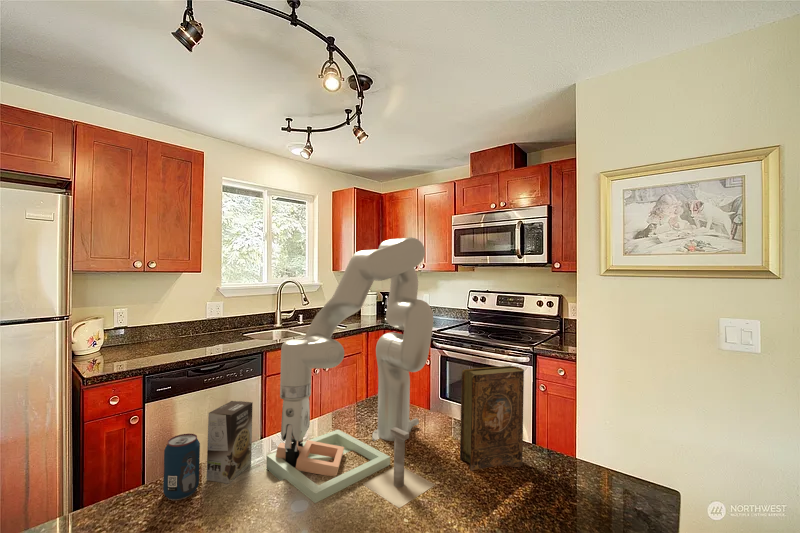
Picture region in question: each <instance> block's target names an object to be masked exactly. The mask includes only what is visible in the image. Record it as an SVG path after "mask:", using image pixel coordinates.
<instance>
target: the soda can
mask: <svg viewBox="0 0 800 533" xmlns="http://www.w3.org/2000/svg"><path fill="white" fill-rule="evenodd" d="M200 449H201V443H200V440H199V439H198V436H197V434H195V433H181V434H178V435H175V436H172V437H171V438H169V439H168V441H167V444H166V445H165V447H164V452H163V483H162V484H163V486H162V488H163V489H162V490H163V491H162V493H163V494H164V496H165V497H166V498H167V499H168V500H171V501H180V500H184V499H186V498H188V497H190V496H192V495H194V493H195V492H196V491H197V489H198V487H199V485H200V458H201V457H200V456H201V455H200V454H201V453H200V452H201V450H200Z"/></svg>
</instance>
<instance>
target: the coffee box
mask: <svg viewBox="0 0 800 533" xmlns="http://www.w3.org/2000/svg"><path fill="white" fill-rule="evenodd" d="M207 416H208V422H207V423H208V424H207V449H206V450H207V452H206V453H207V454H206V456H207V457H206V481H209V482H210V481H211V482H217V483H223V484H227V483H228V484H230V483H232V481H234V480H235V479H236V478H238V476H240V474H242V473H243V472H244V471H245V470H247V467H248V466H249V465H250V464H251V465H252V443H253V441H252V440H253V401H244V400H243V401H241V400H239V401H238V400H237V401H236V400H230V401H229V402H227V403H225V404H223V405H221V406H219V407H217V408H215V409H213V410H211V411H210V412H208V415H207ZM251 465H250V466H251ZM250 466H249V467H250ZM249 467H248V468H249ZM243 470H244V471H243ZM242 471H243V472H242ZM241 472H242V473H241ZM235 477H236V478H235ZM234 478H235V479H234ZM229 482H230V483H229Z"/></svg>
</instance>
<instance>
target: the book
mask: <svg viewBox="0 0 800 533" xmlns="http://www.w3.org/2000/svg"><path fill="white" fill-rule="evenodd" d="M524 374H525V370H524V369H523V368H522V367H519V366H515V365H504V366H503V365H501V366H500V365H499V366H491V367H488V366H487V367H477V368H466V369H463V370H461V386H460V387H461V389H460V391H461V392H460V393H461V394H460V431H459V432H460V438H459V440H460V441H459V442H460V444H459V447H460V448H459V458H460V459H459V460H460V461H465V462H467V463H469V471H475V470H480V469H487V468H492V467H498V466H503V465H506V466H509V467H510V468H513V467H518V468H521V467H520V466H522V467H523V460H524V459H523V454H524V453H523V449H524V448H523V446H524V444H523V443H524V442H523V441H524V391H525V390H524V389H525V388H524V387H525V386H524V384H525V380H524V379H525V376H524Z"/></svg>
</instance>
